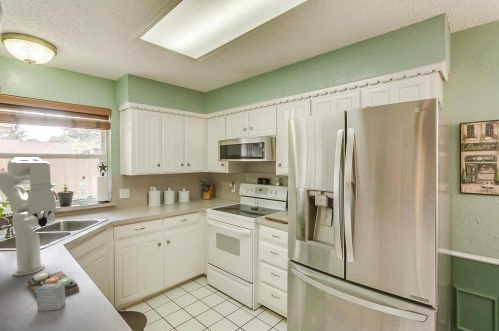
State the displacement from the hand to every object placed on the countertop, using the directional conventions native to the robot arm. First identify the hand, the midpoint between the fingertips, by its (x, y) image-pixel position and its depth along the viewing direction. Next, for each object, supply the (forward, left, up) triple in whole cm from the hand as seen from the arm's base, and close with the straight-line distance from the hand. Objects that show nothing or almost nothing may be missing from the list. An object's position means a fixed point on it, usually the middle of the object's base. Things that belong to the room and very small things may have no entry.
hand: (42, 226), depth 120 cm
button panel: (+10, +1, -27) cm, 29 cm away
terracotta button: (+10, 0, -25) cm, 27 cm away
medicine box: (+29, -4, -27) cm, 40 cm away
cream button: (+2, -2, -24) cm, 24 cm away
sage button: (+18, +3, -24) cm, 30 cm away
